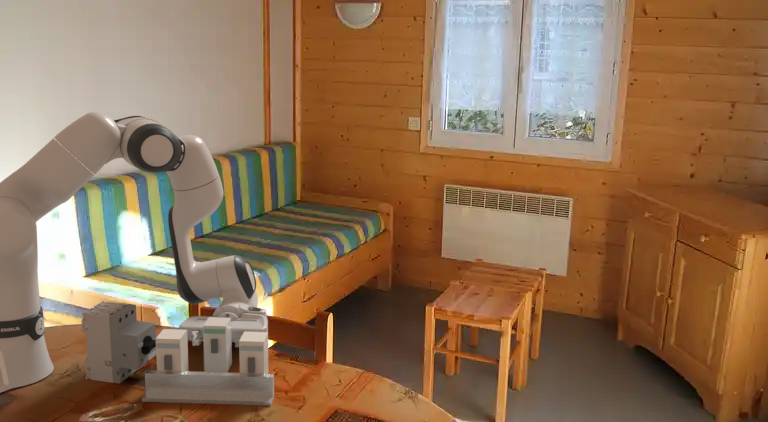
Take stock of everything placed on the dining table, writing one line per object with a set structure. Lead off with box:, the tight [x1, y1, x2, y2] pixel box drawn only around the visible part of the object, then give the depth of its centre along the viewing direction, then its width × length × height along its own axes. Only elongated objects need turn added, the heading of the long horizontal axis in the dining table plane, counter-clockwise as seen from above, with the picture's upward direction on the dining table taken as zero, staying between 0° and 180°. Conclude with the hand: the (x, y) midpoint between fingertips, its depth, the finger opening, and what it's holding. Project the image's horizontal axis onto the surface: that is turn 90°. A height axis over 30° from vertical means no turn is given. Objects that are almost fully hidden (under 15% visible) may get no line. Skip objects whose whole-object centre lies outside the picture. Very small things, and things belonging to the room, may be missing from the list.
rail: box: [141, 369, 275, 406], centre depth 143 cm, size 26×4×5 cm, turn 89°
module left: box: [155, 328, 190, 371], centre depth 146 cm, size 5×6×12 cm
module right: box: [238, 331, 269, 374], centre depth 146 cm, size 5×6×12 cm
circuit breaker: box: [81, 300, 157, 384], centre depth 151 cm, size 8×14×15 cm, turn 78°
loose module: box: [202, 317, 233, 373], centre depth 156 cm, size 5×6×11 cm
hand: (216, 343), depth 156 cm, fingers open, 8 cm apart
